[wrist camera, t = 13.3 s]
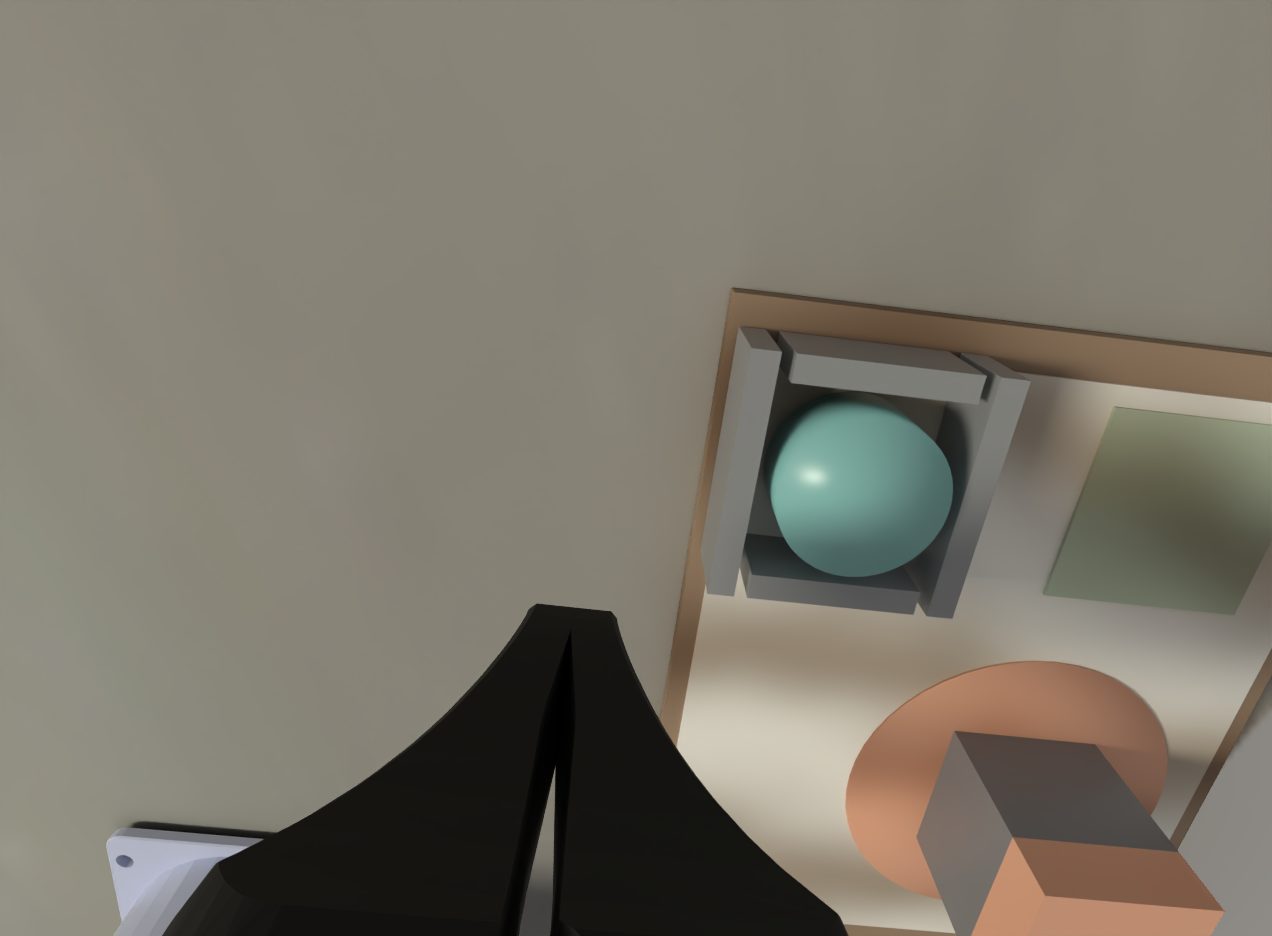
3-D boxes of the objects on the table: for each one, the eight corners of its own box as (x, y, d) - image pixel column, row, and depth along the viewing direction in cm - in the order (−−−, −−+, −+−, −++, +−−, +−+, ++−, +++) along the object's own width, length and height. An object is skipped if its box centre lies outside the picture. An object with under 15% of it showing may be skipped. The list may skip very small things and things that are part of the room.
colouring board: (1104, 947, 25) (1118, 971, 25) (628, 907, 25) (629, 931, 24) (1408, 369, 18) (1442, 379, 17) (731, 287, 17) (735, 293, 16)
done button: (900, 545, 18) (926, 584, 16) (750, 529, 18) (762, 567, 16) (941, 401, 17) (974, 428, 15) (779, 382, 16) (795, 408, 15)
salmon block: (1047, 848, 22) (1154, 1029, 18) (916, 837, 22) (989, 1015, 18) (1094, 744, 21) (1224, 911, 16) (954, 730, 21) (1044, 895, 16)
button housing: (921, 573, 19) (952, 618, 17) (700, 550, 19) (706, 593, 17) (987, 355, 17) (1031, 381, 15) (738, 326, 17) (751, 348, 15)
